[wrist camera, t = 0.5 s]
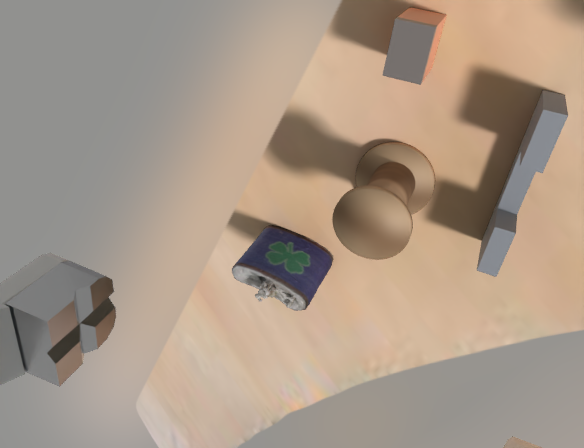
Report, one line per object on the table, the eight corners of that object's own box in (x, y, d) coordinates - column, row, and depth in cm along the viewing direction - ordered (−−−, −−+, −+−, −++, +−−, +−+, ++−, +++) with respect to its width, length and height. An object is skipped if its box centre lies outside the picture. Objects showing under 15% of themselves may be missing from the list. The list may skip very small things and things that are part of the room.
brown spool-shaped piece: (365, 132, 52) (335, 172, 45) (444, 154, 50) (427, 200, 43) (351, 200, 57) (321, 247, 49) (423, 222, 55) (404, 275, 47)
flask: (262, 236, 64) (220, 286, 56) (268, 218, 62) (226, 267, 54) (330, 269, 63) (298, 326, 54) (338, 251, 61) (306, 307, 52)
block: (410, 7, 45) (395, 18, 41) (446, 14, 45) (435, 27, 40) (397, 58, 48) (382, 75, 43) (432, 66, 47) (420, 84, 42)
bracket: (542, 90, 45) (543, 109, 40) (564, 95, 44) (568, 115, 40) (481, 240, 53) (476, 270, 49) (499, 246, 53) (496, 276, 49)
